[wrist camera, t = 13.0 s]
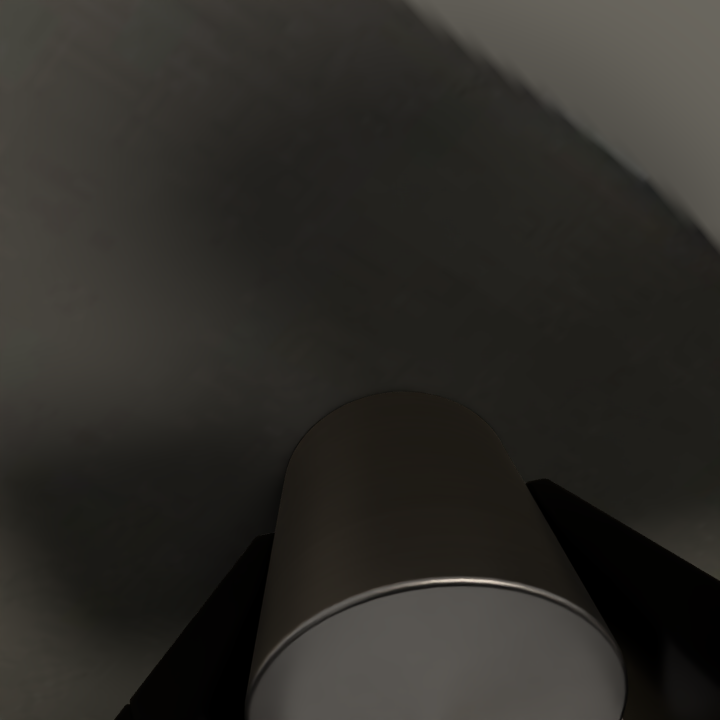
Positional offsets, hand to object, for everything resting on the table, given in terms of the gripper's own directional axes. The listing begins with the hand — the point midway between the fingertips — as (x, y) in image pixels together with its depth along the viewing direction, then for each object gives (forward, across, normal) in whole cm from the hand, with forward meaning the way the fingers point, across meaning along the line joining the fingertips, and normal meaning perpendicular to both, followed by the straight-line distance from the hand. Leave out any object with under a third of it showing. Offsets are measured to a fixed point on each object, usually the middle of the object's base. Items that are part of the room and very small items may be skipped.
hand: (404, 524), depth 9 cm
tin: (+1, 0, 0) cm, 1 cm away
